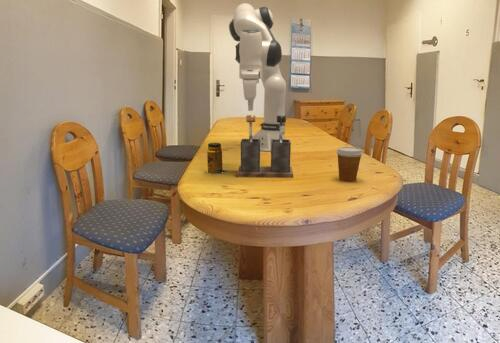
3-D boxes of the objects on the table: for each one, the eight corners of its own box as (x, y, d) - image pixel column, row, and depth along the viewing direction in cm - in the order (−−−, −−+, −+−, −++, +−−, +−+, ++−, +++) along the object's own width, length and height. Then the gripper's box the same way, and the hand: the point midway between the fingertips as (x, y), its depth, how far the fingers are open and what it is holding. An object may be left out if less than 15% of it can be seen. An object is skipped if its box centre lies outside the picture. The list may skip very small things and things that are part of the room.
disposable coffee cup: (340, 175, 150) (342, 145, 147) (363, 178, 144) (366, 148, 141) (330, 180, 142) (332, 149, 139) (355, 184, 137) (357, 152, 134)
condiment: (203, 172, 153) (202, 143, 150) (217, 168, 160) (217, 141, 157) (215, 175, 149) (215, 145, 146) (230, 171, 155) (230, 143, 152)
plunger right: (273, 148, 146) (274, 116, 143) (273, 145, 151) (274, 115, 148) (287, 148, 146) (288, 116, 143) (287, 145, 151) (287, 115, 148)
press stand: (237, 176, 146) (237, 143, 143) (239, 169, 158) (239, 137, 155) (293, 177, 145) (294, 143, 142) (291, 170, 157) (292, 138, 154)
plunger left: (243, 147, 147) (243, 116, 144) (244, 145, 152) (244, 114, 149) (257, 147, 146) (257, 116, 143) (257, 145, 152) (257, 115, 149)
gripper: (244, 74, 152) (244, 108, 156) (240, 73, 133) (240, 112, 136) (259, 74, 152) (259, 108, 156) (258, 74, 132) (258, 113, 136)
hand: (250, 110), depth 146 cm, fingers closed
